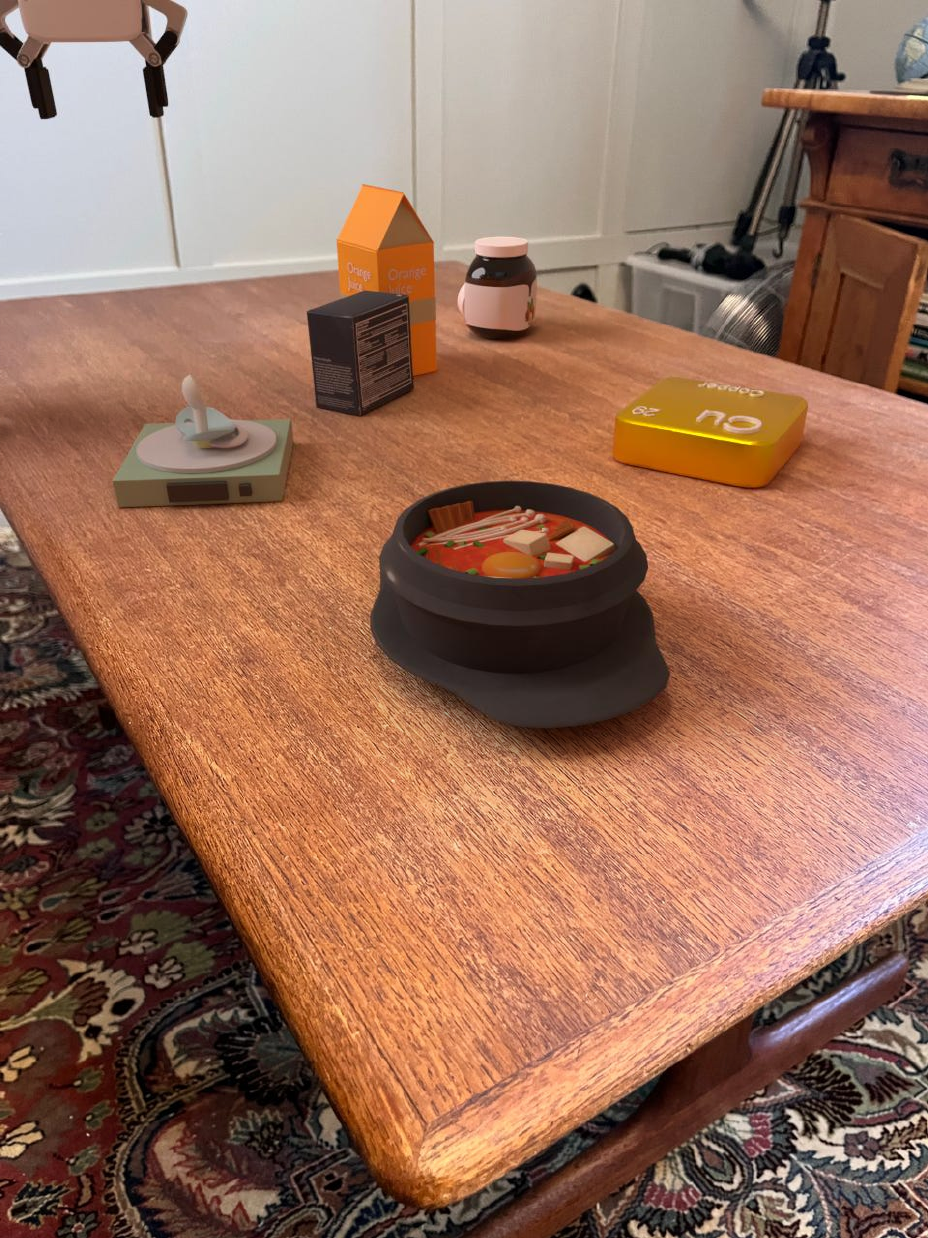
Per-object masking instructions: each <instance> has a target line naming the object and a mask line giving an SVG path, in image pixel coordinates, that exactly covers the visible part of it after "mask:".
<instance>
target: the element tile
mask: <svg viewBox="0 0 928 1238" xmlns="http://www.w3.org/2000/svg"><path fill="white" fill-rule="evenodd" d="M808 409H809V402H808V400H806V399H805V397H803V396H800V395H795V394H788V393H782V392H775V391H769V390H763V389H757V388H749V387H743V386H741V385H739V386H735V385H731V384H724V383H717V382H713V381H712V382H711V381H705V380H698V379H691V378H686V377H680V376H668V377H665V378H663V379H661V380H658V381H657V382H656V383H655V384H654V385H652V386H651V387H650V388H648V389H647V390H646V391H644V392H643V393H641V394H640V395H639V396H637V397H636V398H635V399H633V400H632V401H630V402H629V403H628V404H626V406H624V407H622V408H621V409H620V410H618V411H617V412H616V413H615V415H614V427H613V440H612V441H613V442H612V458H614V459H615V460H616V461H618V462H619V463H622V464H625V465H629V466H634V467H639V468H642V469H643V468H644V469H649V470H654V471H659V472H664V473H668V474H674V475H679V476H683V477H688V478H694V479H699V480H704V481H708V482H714V483H719V484H722V485H728V486H733V487H737V488H738V487H739V488H746V489H749V488H750V489H756V488H763V487H765V486H767V485H769V484H770V483H771V481H772V480H774V478H775V477H776V476H777V474H778V473H779V472H780V471H781V469H782V468H783V467H784V466H785V464H786V463H787V462H788V461H789V460H790V458H791V457H792V455H793V454H794V453H795V452H796V450H797V449H798V448H799V446H801V444H802V442H803V437H804V432H805V426H806V422H807V416H808V411H809V410H808Z"/></svg>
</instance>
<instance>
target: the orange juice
mask: <svg viewBox="0 0 928 1238" xmlns="http://www.w3.org/2000/svg"><path fill="white" fill-rule="evenodd" d="M348 213H349V214H348V215H347V217H346V220H345V221H344V224H343V226H342V229H341V230H340V233H339V235H338V237H337V238H335V239H336V241H335V242H336V252H337V267H338V279H339V299H342V298H345V297H348V296H350V295H353V294H356V293H359V292H361V291H364V290H365V291H374V292H384V293H394V294H403V295H409V311H410V312H409V313H410V331H411V352H412V369H413V377H416V376H420V375H425V374H428V373H432V372H437V370H438V369H437V367H438V365H437V364H438V363H437V329H436V327H437V326H436V325H437V324H436V320H437V307H436V305H437V304H436V287H435V286H436V283H435V242H434V240H433V239H432V237H431V235H430V234H429V232H428V231H427V229H426V227H425V226H424V224H423V222H422V221H421V219H420V217H419V216H418V214H417V212H416V211H415V209H414V207H413V206H412V204H411V203H410V201H409V200H408V198H407V197H406V194H405V193H404V192H403V191H399V190H394V189H388V188H383V187H380V186H379V187H378V186H374V185H368V184H364V183H361V187H360V190H359V191H358V194H357V197H356V198H355V200H354V203H353V204H352V207H351V210H350V211H349V212H348Z"/></svg>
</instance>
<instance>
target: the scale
mask: <svg viewBox="0 0 928 1238" xmlns="http://www.w3.org/2000/svg"><path fill="white" fill-rule="evenodd" d="M229 419H230V420H231V421H232V422H233V423H236V424H239V425H241V426H243V427H244V428H245V429H246V430H247V432H248V439H247V440H246V442H244V443H243V444H241V445H239V446H236V447H232V448H217V447H214V448H198V447H196V446H195V445H194V443H193V441H184V439H183V437H184V436H185V435H183V434H182V433H180V432H179V430H178V429H177V426H176V422H159V423H158V422H157V423H155V422H154V423H144V425H143V427H142V429H141V431H140V432H139V434H138V435H137V437H136V439H135V441H134V443H133V444H132V446H131V447H130V450H129V451H128V453H127V455H126V457H125V458H124V460H123V462H122V464H121V465H120V467H119V469H118V471H117V472H116V474H115V476H114V477H113V479H112V486H113V490H114V497H115V500H116V505H117V508H141V507H142V508H143V507H165V506H166V507H167V506H169V507H170V506H191V505H214V504H215V505H217V504H220V505H221V504H242V503H265V502H268V503H269V502H270V503H271V502H283V500H284V494H285V491H286V490H285V489H286V485H287V478H288V473H289V467H290V463H291V458H292V453H293V446H294V436H293V435H294V433H293V426H292V425H293V424H292V419H291V418H277V419H275V418H274V419H272V418H271V419H249V420H246V419H245V420H244V419H235V418H234V419H233V418H229ZM185 424H186V425H193V423H192V422H186V423H185ZM237 436H238V434H237V433H236V432H234V431H233V432H231V433H229V434H227V435H224V436H222V440H230V439H233V438H235V437H237Z"/></svg>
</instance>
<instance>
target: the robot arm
mask: <svg viewBox="0 0 928 1238" xmlns="http://www.w3.org/2000/svg"><path fill="white" fill-rule="evenodd" d="M149 7H150V8H152V9H153V10H155V11H157V12H159V13H161V14H162V15H164V17H166V21H167V22H166V27H165V28H164V29H165V30H164V32H163V34H162V35H161V37H160V38H159V39H158V40H157V42H155V41H154V40H153V39H152V37H151V36H150V35H149V34H150V32H151V19H150V12H149ZM17 9H19V14H20V18H21V22H22V26H23V28H24V31H25V33H26V35H27V37H26V39H25V40H24V42H23V41H22V40H21V39H19V37H17V36H16V35H15V34H14V33H13V32H12V31H11V29H10V28H9V26H8V24H7V22H6V19H7V16H8V15H10V14H11V13H13V12H14V11H16V10H17ZM188 15H189V13H188V10H187V8H186V7H185V6H183V5H181V4H179V3H177V2H176V1H174V0H0V48H2V50H4V51H5V52H6V53H7V54H9V55H10V56H11V57H12V59H14V60H15V61H16V62H17V64H18V65H19V66H20V67H21V68H23V69H24V74H25V79H26V84H27V88H28V94H29V98H30V102H31V106H32V108H33V109H34V110H36V109H37V111H38V115H39V119H40V120H49V119H54V118H56V117H57V116H58V111H57V106H56V101H55V96H54V91H53V87H52V81H51V76H50V71H49V69H48V68H47V66H44V63H43V59H44V57H45V55H46V53H47V52H48V50H49V48H50V47H51V44H52V43H121V42H129V43H130V44H131V46H133V48H134V49H135V50H136V51H137V52H138V53H139V54H140V55H141V57H142V58H143V59H144V63H145V66H144V67H143V68H142V76H143V81H144V89H145V95H146V102H147V107H148V114H149V116H150V117H152V118H153V119H158V118H161V117H164V115H165V111H164V108H166V107H167V108H168V107H169V96H168V91H167V90H168V89H167V83H166V77H165V76H166V75H165V68H164V66H165V64H166V63H167V61H168V60H169V58H170V57H171V55H172V54H173V52H174V51H175V50H176V48H177V47H178V46H179V44H180V43H181V37H182V34H183V31H184V28H185V25H186V22H187V18H188Z"/></svg>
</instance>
